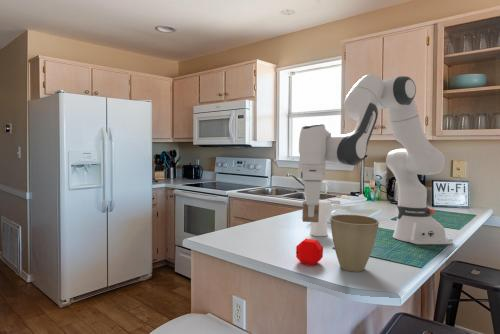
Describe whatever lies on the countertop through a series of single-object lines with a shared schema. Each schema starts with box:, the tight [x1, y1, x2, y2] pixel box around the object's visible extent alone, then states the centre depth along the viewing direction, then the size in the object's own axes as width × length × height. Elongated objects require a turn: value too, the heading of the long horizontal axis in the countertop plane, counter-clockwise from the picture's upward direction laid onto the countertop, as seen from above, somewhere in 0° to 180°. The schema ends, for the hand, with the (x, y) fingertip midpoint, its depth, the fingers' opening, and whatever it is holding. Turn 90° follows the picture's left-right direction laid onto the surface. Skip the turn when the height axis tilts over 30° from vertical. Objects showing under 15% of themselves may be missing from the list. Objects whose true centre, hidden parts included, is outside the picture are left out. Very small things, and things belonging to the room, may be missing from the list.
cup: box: [309, 198, 333, 237], centre depth 154 cm, size 11×11×15 cm
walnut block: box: [301, 200, 319, 223], centre depth 115 cm, size 5×5×6 cm
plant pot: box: [329, 214, 380, 273], centre depth 111 cm, size 15×15×16 cm
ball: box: [295, 238, 324, 266], centre depth 116 cm, size 8×8×8 cm
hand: (310, 214), depth 115 cm, fingers closed on walnut block, 5 cm apart
